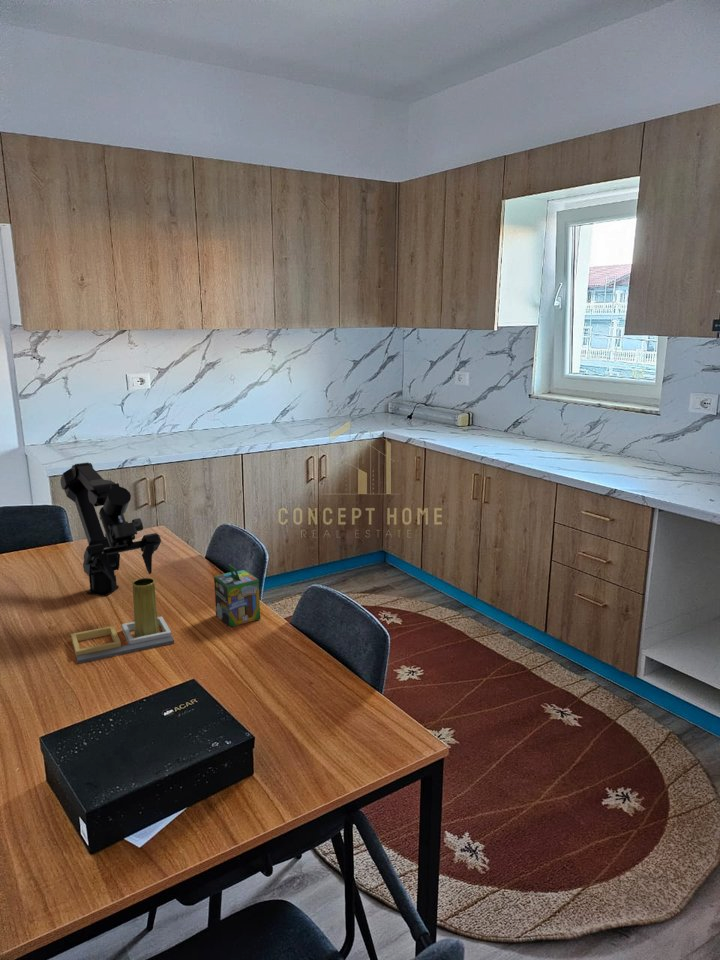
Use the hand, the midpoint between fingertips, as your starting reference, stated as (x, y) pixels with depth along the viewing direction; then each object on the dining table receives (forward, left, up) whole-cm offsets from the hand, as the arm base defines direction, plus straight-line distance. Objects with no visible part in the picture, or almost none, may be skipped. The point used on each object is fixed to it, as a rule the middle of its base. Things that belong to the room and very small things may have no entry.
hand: (132, 577), depth 174 cm
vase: (+6, -5, -13) cm, 15 cm away
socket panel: (+2, -10, -13) cm, 16 cm away
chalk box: (+24, +10, -13) cm, 29 cm away
